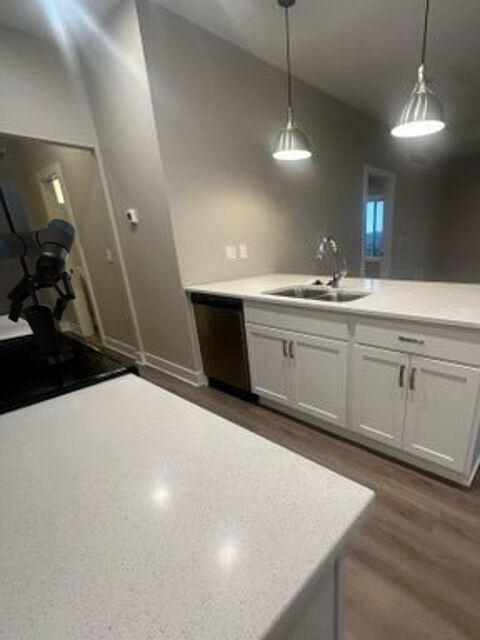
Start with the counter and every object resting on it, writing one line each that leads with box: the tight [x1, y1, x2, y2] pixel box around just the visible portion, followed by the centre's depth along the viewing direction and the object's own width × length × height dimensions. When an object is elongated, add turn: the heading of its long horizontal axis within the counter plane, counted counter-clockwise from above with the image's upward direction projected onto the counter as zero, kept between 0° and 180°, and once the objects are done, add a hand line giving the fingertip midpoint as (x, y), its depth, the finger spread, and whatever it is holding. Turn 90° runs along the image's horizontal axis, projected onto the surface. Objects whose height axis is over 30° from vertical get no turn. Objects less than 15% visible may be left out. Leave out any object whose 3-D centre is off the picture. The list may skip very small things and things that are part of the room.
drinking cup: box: [21, 287, 61, 353], centre depth 106 cm, size 8×8×20 cm
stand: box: [30, 344, 76, 370], centre depth 110 cm, size 11×11×4 cm
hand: (34, 319), depth 103 cm, fingers open, 13 cm apart
